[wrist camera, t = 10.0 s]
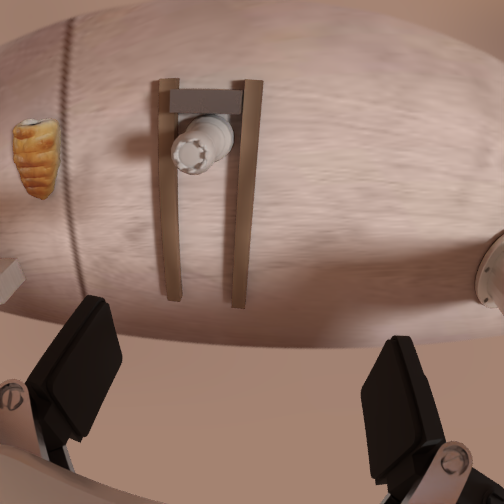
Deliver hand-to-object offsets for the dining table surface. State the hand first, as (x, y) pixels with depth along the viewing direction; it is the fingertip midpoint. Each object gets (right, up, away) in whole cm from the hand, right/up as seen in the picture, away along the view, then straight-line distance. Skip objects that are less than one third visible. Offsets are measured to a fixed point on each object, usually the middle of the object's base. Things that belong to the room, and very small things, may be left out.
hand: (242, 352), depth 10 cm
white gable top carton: (-37, +1, +27) cm, 46 cm away
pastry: (-23, +15, +18) cm, 33 cm away
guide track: (-4, +8, +21) cm, 23 cm away
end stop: (-3, +17, +16) cm, 23 cm away
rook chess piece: (-3, +14, +18) cm, 23 cm away
